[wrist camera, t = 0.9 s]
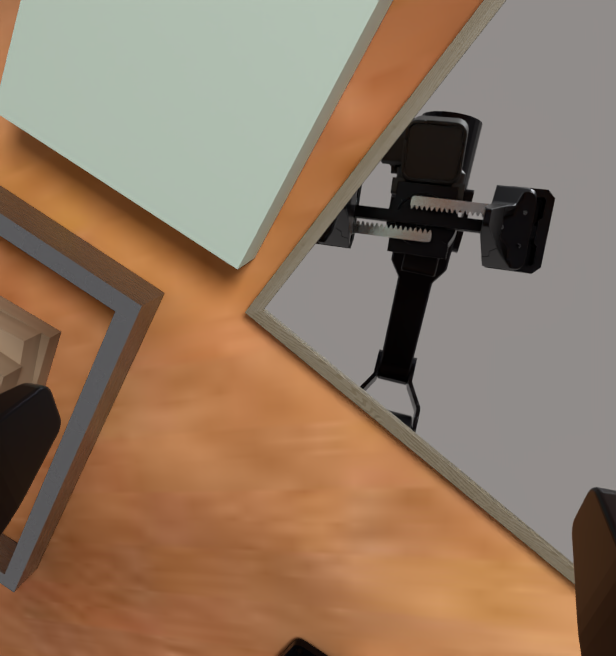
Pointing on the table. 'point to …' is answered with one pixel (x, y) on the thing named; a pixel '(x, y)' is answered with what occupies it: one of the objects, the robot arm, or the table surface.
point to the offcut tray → (103, 380)
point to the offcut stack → (24, 347)
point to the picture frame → (481, 269)
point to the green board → (188, 100)
